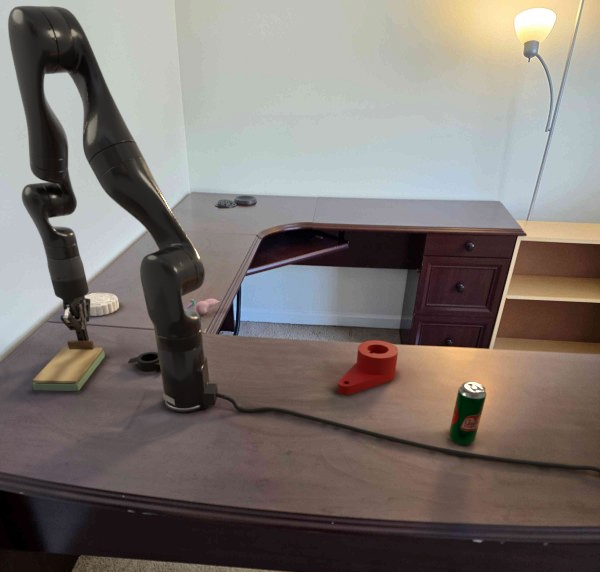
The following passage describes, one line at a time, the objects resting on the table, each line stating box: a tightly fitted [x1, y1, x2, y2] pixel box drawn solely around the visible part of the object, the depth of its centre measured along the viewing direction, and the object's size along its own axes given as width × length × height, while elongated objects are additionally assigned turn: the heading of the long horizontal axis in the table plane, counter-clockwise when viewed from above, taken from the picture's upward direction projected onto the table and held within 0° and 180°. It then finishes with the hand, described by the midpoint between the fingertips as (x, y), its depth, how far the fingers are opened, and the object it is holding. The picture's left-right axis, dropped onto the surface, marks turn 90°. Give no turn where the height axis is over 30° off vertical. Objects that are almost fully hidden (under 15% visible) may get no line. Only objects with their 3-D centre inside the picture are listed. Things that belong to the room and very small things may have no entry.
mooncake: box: [85, 291, 120, 317], centre depth 152 cm, size 12×12×4 cm
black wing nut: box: [127, 351, 161, 373], centre depth 121 cm, size 8×10×3 cm
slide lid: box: [32, 339, 103, 383], centre depth 117 cm, size 10×17×3 cm, turn 179°
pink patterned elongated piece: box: [186, 298, 221, 316], centre depth 148 cm, size 6×6×15 cm
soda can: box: [448, 381, 487, 446], centre depth 95 cm, size 5×5×12 cm
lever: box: [337, 339, 399, 396], centre depth 116 cm, size 18×9×7 cm, turn 136°
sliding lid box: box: [32, 349, 106, 392], centre depth 118 cm, size 10×17×2 cm, turn 179°
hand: (83, 341), depth 125 cm, fingers closed
